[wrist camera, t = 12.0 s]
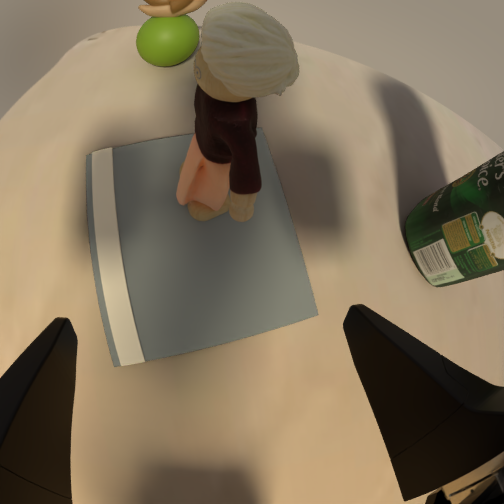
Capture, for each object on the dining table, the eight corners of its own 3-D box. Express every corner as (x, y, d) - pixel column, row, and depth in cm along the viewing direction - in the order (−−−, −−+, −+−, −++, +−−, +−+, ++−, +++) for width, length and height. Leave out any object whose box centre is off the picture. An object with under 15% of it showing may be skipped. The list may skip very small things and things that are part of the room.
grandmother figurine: (157, 157, 17) (152, -22, 5) (210, 140, 18) (252, -28, 6) (202, 262, 16) (255, 119, 4) (259, 237, 17) (391, 101, 5)
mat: (116, 365, 14) (113, 367, 13) (88, 158, 16) (85, 153, 16) (315, 315, 18) (319, 314, 17) (259, 131, 20) (262, 126, 19)
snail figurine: (205, 79, 20) (231, -43, 9) (132, 79, 19) (126, -41, 7) (208, 46, 21) (231, -55, 10) (144, 46, 20) (147, -56, 8)
